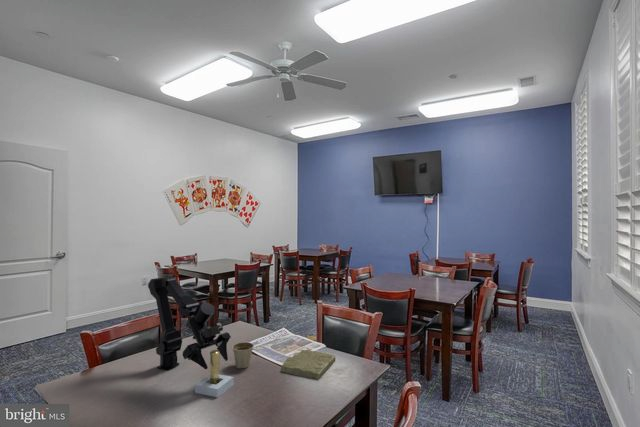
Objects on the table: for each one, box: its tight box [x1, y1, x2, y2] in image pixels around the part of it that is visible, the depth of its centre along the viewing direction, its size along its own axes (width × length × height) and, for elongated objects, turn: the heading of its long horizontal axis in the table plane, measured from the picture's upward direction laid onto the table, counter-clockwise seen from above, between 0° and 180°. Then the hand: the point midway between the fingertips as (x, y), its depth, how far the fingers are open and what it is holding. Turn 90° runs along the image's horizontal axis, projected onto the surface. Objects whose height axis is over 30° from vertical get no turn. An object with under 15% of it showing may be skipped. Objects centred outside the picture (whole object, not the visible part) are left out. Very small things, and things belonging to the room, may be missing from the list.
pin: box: [209, 349, 221, 385], centre depth 130 cm, size 3×3×14 cm
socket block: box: [194, 373, 235, 398], centre depth 130 cm, size 10×10×3 cm
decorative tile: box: [280, 349, 336, 380], centre depth 151 cm, size 19×20×4 cm
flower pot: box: [231, 341, 255, 369], centre depth 150 cm, size 9×9×9 cm
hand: (217, 364), depth 130 cm, fingers open, 9 cm apart
